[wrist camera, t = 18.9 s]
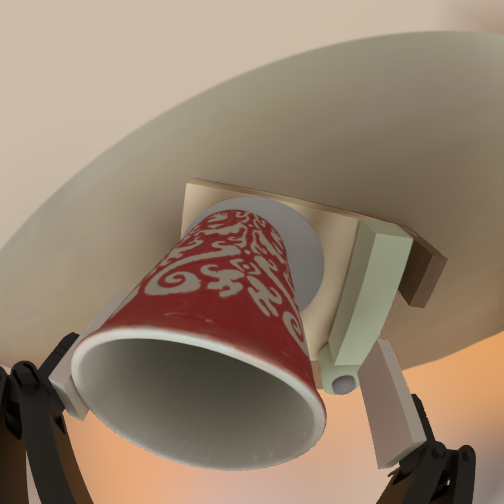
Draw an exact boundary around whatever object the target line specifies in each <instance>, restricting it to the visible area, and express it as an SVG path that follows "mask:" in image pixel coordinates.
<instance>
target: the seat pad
mask: <svg viewBox="0 0 504 504" xmlns="http://www.w3.org/2000/svg"><path fill="white" fill-rule="evenodd" d="M224 210H243V211H246V212H250V213H253V214H256V215H258V216H260V217H262V218H263V219H265V220H266V221H267V222H269V223H270V224H271V225H272V226H273V227H274V228H275V229H276V231H277V232H278V233H279V235H280V237H281V239H282V241H283V243H284V246H285V249H286V253H287V258H288V263H289V267H290V271H291V275H292V280H293V284H294V289H295V294H296V298H297V302H298V307H299V312H300V313H301V312H302V311H303V310H304V309H305V308H306V307H307V306H308V305H309V304H310V303H311V302H312V300H313V299H314V298H315V296H316V294H317V293H318V291H319V288H320V286H321V283H322V280H323V276H324V268H325V266H324V254H323V249H322V246H321V243H320V240H319V238H318V236H317V234H316V232H315V231H314V229H313V228H312V227H311V225H310V224H309V223H308V222H307V220H306V219H305V218H304V217H303V216H302V215H300V214H299V213H298V212H297V211H295V210H294V209H292V208H290V207H289V206H287V205H285V204H283V203H281V202H278V201H276V200H272V199H269V198H264V197H257V196H242V197H234V198H230V199H226V200H223V201H221V202H218V203H216V204H214V205H212V206H210V207H209V208H207V209H206V210H204V211H203V212H202V213H201V214H199V215H198V216H197V217H196V218H195V219H194V221H193V222H192V223H191V224H190V225H189V227H188V228H187V230H186V231H185V233H184V236H183V238H184V237H185V236H186V235H187V234H188V233H189V232H190V231H191V230H192V229H193V228H194V227H195V226H196V225H197V224H198V223H199V222H200V221H202V220H203V219H204V218H206V217H208V216H209V215H211V214H214V213H216V212H219V211H224ZM183 238H182V239H183Z"/></svg>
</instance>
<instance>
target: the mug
mask: <svg viewBox="0 0 504 504" xmlns="http://www.w3.org/2000/svg"><path fill="white" fill-rule="evenodd" d="M71 374H72V378H73V382H74V384H75V387H76V389H77V391H78V393H79V395H80V396H81V398H82V399H83V401H84V402H85V404H86V405H87V406H88V407H89V409H90V410H91V411H92V412H93V413H94V414H95V415H96V416H97V417H98V418H99V419H100V420H101V421H102V422H103V423H104V424H105V425H107V426H108V427H109V428H110V429H112V430H113V431H114V432H115V433H117V434H118V435H119V436H121V437H122V438H124V439H126V440H127V441H129V442H131V443H133V444H134V445H136V446H138V447H140V448H142V449H144V450H146V451H148V452H150V453H153V454H155V455H157V456H160V457H163V458H165V459H168V460H171V461H174V462H178V463H181V464H185V465H189V466H193V467H198V468H204V469H211V470H224V471H242V470H253V469H261V468H267V467H271V466H275V465H279V464H282V463H284V462H287V461H290V460H292V459H294V458H297V457H299V456H301V455H303V454H304V453H306V452H307V451H309V450H310V449H311V448H312V447H313V446H314V445H315V444H316V443H317V442H318V440H319V439H320V438H321V436H322V434H323V432H324V429H325V426H326V418H327V415H326V408H325V405H324V403H323V400H322V398H321V397H320V395H319V393H318V392H317V390H316V387H315V382H314V378H313V373H312V368H311V363H310V357H309V352H308V347H307V342H306V338H305V333H304V328H303V324H302V319H301V316H300V312H299V307H298V302H297V298H296V294H295V289H294V284H293V280H292V275H291V271H290V267H289V263H288V258H287V253H286V249H285V246H284V243H283V241H282V239H281V237H280V235H279V233H278V232H277V231H276V229H275V228H274V227H273V226H272V225H271V224H270V223H269V222H267V221H266V220H265V219H263V218H262V217H260V216H258V215H256V214H253V213H250V212H246V211H243V210H224V211H219V212H216V213H214V214H211V215H209V216H208V217H206V218H204V219H203V220H202V221H200V222H199V223H198V224H197V225H196V226H195V227H194V228H193V229H192V230H191V231H190V232H189V233H188V234H187V235H186V236H185V237H184V238H183V239H182V240H181V241H180V242H179V243H178V244H177V245H176V246H175V247H174V248H173V249H172V250H171V251H170V252H169V253H168V254H167V255H166V256H165V257H164V258H163V259H162V260H161V261H160V262H159V263H158V264H157V265H156V266H155V268H154V269H153V270H152V271H151V272H150V273H149V274H148V275H147V276H145V277H144V278H143V280H142V281H141V282H140V283H139V284H138V285H137V286H136V287H135V288H134V290H133V291H132V292H131V293H130V294H129V295H128V296H127V297H126V298H125V299H124V300H123V302H122V303H121V304H120V305H119V306H118V308H117V309H116V310H115V311H114V312H113V313H112V314H111V316H110V317H109V318H108V319H107V320H106V321H105V323H104V324H103V325H102V326H101V327H100V328H99V329H98V330H95V331H93V332H92V333H90V334H88V335H87V336H86V337H85V338H83V339H82V340H81V341H80V342H79V344H78V345H77V347H76V348H75V350H74V352H73V355H72V359H71Z"/></svg>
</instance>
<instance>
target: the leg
mask: <svg viewBox="0 0 504 504" xmlns="http://www.w3.org/2000/svg"><path fill="white" fill-rule="evenodd" d="M412 242H413V238H412V237H411V236H410V235H409V234H407V233H406V232H405V231H404V230H402V229H401V228H400V227H399V226H398V225H396V224H395V223H390V222H383V221H377V220H370V219H363V218H361V220H360V225H359V229H358V234H357V238H356V243H355V247H354V251H353V256H352V260H351V264H350V268H349V272H348V275H347V279H346V283H345V286H344V290H343V294H342V297H341V301H340V304H339V307H338V311H337V314H336V317H335V321H334V324H333V327H332V330H331V333H330V336H329V339H328V342H329V344H327V345H325V346H324V347H323V348H322V349H321V350H320V351H319V353H318V363H319V368H320V374H321V380H322V386H323V389H324V391H325V392H327V393H329V394H333V395H343V394H347V393H349V392H351V391H353V390H354V389H356V388H357V387H359V386H360V383H359V379H358V376H357V371H358V369H359V368H360V365H362V363H363V361H364V360H365V358H366V357H367V355H368V353H369V352H370V350H371V348H372V347H373V345H374V343H375V341H376V340H377V339H378V337H379V335H380V332H381V330H382V328H383V325H384V323H385V320H386V318H387V316H388V313H389V311H390V308H391V305H392V303H393V300H394V297H395V295H396V292H397V289H398V286H399V284H400V281H401V278H402V275H403V272H404V269H405V266H406V262H407V259H408V256H409V253H410V249H411V246H412Z"/></svg>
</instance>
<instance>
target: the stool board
mask: <svg viewBox="0 0 504 504" xmlns="http://www.w3.org/2000/svg"><path fill="white" fill-rule="evenodd" d="M242 196H257V197H264V198H269V199H272V200H276V201H278V202H281V203H283V204H285V205H287V206H289V207H290V208H292V209H294V210H295V211H297V212H298V213H299V214H300V215H302V216H303V217H304V218H305V219H306V220H307V222H308V223H309V224H310V225H311V227H312V228H313V229H314V231H315V232H316V234H317V236H318V238H319V240H320V243H321V246H322V249H323V254H324V266H325V268H324V276H323V280H322V283H321V286H320V288H319V291H318V293H317V294H316V296H315V298H314V299H313V300H312V302H311V303H310V304H309V305H308V306H307V307H306V308H305V309H304V310H303V311H302V312H301V313H300V316H301V319H302V324H303V328H304V333H305V338H306V342H307V347H308V352H309V357H310V361H318V353H319V351H320V350H321V349H322V348H323V347H324V346H325V345H327V344H329V342H328V339H329V336H330V333H331V330H332V327H333V324H334V321H335V317H336V314H337V311H338V307H339V304H340V301H341V297H342V294H343V290H344V286H345V283H346V279H347V275H348V272H349V268H350V264H351V260H352V256H353V251H354V247H355V243H356V238H357V234H358V229H359V225H360V220H361V218H363V219H370V220H377V221H383V220H379V219H376V218H372V217H368V216H365V215H361V214H357V213H354V212H350V211H346V210H342V209H338V208H334V207H330V206H326V205H322V204H318V203H314V202H310V201H306V200H301V199H297V198H292V197H288V196H283V195H279V194H274V193H269V192H265V191H260V190H255V189H250V188H244V187H239V186H234V185H228V184H223V183H217V182H212V181H206V180H200V179H192V180H191V181H189V182H188V183H186V191H185V199H184V207H183V216H182V226H181V236H180V241H181V240H182V238H183V236H184V233H185V231H186V230H187V228H188V227H189V225H190V224H191V223H192V222H193V221H194V219H195V218H196V217H197V216H198V215H199V214H201V213H202V212H203V211H204V210H206V209H207V208H209V207H210V206H212V205H214V204H216V203H218V202H221V201H223V200H226V199H230V198H234V197H242ZM383 222H386V221H383ZM398 226H399V227H400V228H401V229H402V230H404V231H405V232H406V233H407V234H409V235H410V236H411V237H412V238H413V242H412V246H411V249H410V253H409V256H408V259H407V262H406V266H405V269H404V272H403V275H402V278H401V281H400V284H399V286H398V290H399V292H400V293H401V295H402V296H403V297H404V299H405V300H406V302H407V303H408V305H409V306H414V307H421V308H424V307H425V305H426V304H427V302H428V300H429V298H430V296H431V294H432V292H433V290H434V288H435V286H436V284H437V281H438V279H439V277H440V275H441V273H442V271H443V268H444V266H445V264H446V261H447V258H446V257H444V256H443V255H442V254H441V253H440V252H439V251H437V250H436V249H435V248H434V247H433V246H431V245H430V244H429V243H428V242H427V241H425V240H424V239H423V238H422V237H420V236H419V235H418V234H417V233H415V232H414V231H413V230H412V229H410V228H406V227H403V226H400V225H398Z"/></svg>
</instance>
